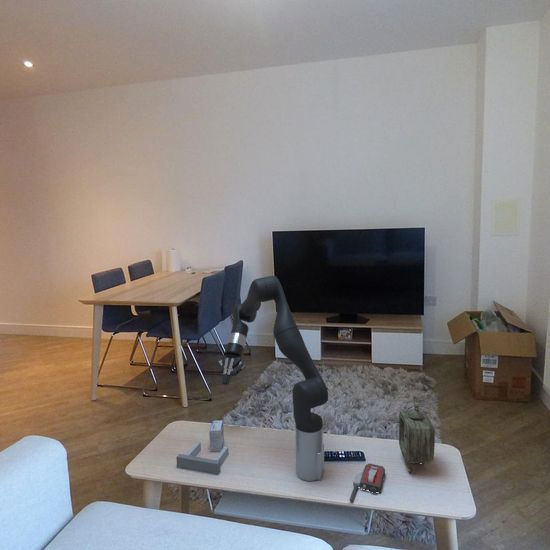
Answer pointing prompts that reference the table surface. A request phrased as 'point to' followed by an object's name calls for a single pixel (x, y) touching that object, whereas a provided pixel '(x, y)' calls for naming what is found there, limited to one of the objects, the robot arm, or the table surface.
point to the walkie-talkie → (369, 479)
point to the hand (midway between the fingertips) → (224, 384)
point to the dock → (201, 460)
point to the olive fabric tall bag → (416, 436)
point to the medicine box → (216, 435)
